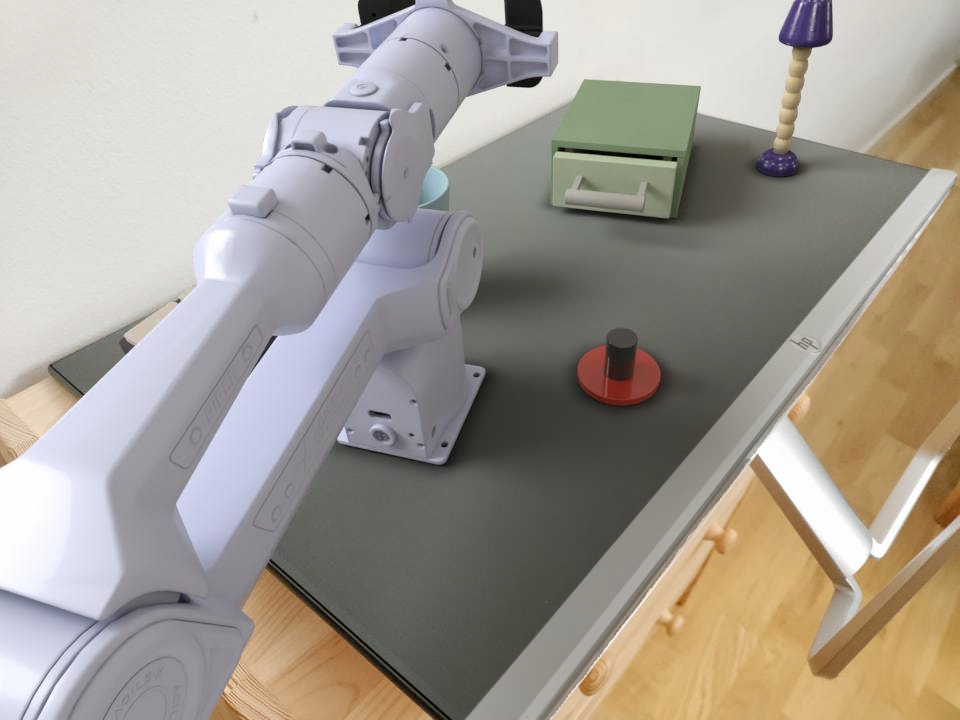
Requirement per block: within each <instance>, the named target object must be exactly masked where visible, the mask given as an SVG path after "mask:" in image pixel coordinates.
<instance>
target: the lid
mask: <svg viewBox="0 0 960 720" xmlns="http://www.w3.org/2000/svg"><path fill="white" fill-rule="evenodd" d="M638 344H639V337H638V334H637V333H636V332H635V331H634V330H632V329H629V328H626V327H616V328H612V329H610V331H608V332H607V333H606V336H605V345H601V346H598V347H595V348H592V349H591V350H589V351H587V352H586V353H585V354H584V355H583V356H582V357H581V358H580V360H579V362H578V365H577V369H576V371H577V372H576V373H577V374H576V376H577V382H578V384H579V386H580V388H581V389H582V391H583V392H585V393H586V394H587V395H588V396H589V397H591V398H592V399H594V400H596V401H598V402H600V403H603V404H607V405H611V406H622V407H623V406H633V405H637V404H641V403H643V402H644V401H647V400H648V399H650V398H651V397H653V395H655V394H656V392H657V391H658V389H659V387H660V383H661V378H662V372H661V369H660V366H659V363H657V360H655V358H653V356H651V355H650V354H649V353H648V352H646V351H644V350H642V349H640V348H638Z"/></svg>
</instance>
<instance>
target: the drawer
mask: <svg viewBox="0 0 960 720" xmlns="http://www.w3.org/2000/svg"><path fill="white" fill-rule="evenodd" d="M676 160H677V157H668V156H657V155H645V154H633V153H622V152H610V151H598V150H586V149H575V148H565V152H556V153H555V155H554V157H553V205H552V206H553V207H560V208H566V209H568V208H569V209H577V210H585V211H586V210H588V211H593V212H594V211H595V212H603V213H605V212H606V213H612V214H613V213H615V214H623V215H630V216H631V215H633V216H640V217H641V216H642V217H650V218H660V219H670V213H671V206H672V199H673V192H674V184H675V177H676V170H677V162H676Z"/></svg>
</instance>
